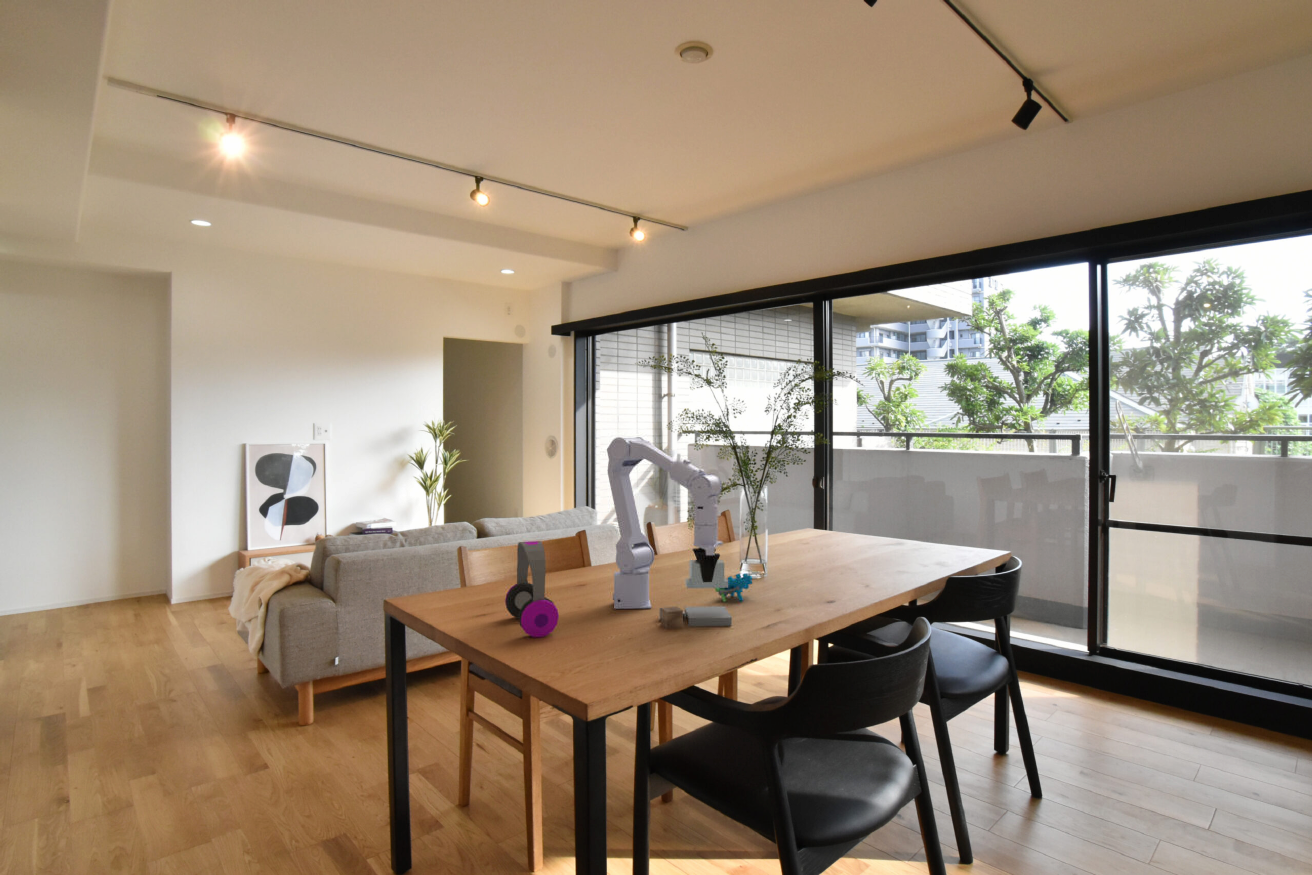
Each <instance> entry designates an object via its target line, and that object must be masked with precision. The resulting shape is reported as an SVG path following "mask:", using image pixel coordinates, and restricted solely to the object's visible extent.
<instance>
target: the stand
mask: <svg viewBox="0 0 1312 875" xmlns="http://www.w3.org/2000/svg"><path fill="white" fill-rule="evenodd" d="M684 612H685V618H687V620H688V621H687V624H688V627H727V626H729V627H732V621H733V620H732V618H733V617H732V616H731V615H730V612H729V611H728V610H727V608H726V606H725V605H724V606H685V607H684Z"/></svg>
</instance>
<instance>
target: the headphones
mask: <svg viewBox="0 0 1312 875" xmlns="http://www.w3.org/2000/svg"><path fill="white" fill-rule="evenodd" d="M516 554H517V563H516V583H515V584H513V585H512V586H511V587H510V588H509V589H508V591H507V593H506V595H505V599H504V602H505V606H506V607H505V608H506V610H507V611H508V612H509V614H510V615H511V616H512V617H514V618H516V619H518V621H519V622H518V623H519V626H520V628H521V629H522V630H523V632H524V633H526V634H527V635H529V636H530V637H532V638H543V637H547V636H548V635H550V634H551V633H552V632H553V631H554V630H555V628H556V627H557V626H558V624H559V623H558V622H559V618H560V615H559V610H558V608H557V606H556V604H555V603H554V602H553V601H552V600H551V599H550V598H548V597H546V594H545V592H546V569H547V568H546V552H545V547H544V545H543V542H542V541H541V540H533V541H532V540H531V541H518V543H517V549H516ZM529 568H530V571H531V579H532V580H531V581H532V583H530V582H529V581H528V574H529Z"/></svg>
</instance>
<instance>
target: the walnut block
mask: <svg viewBox="0 0 1312 875" xmlns="http://www.w3.org/2000/svg"><path fill="white" fill-rule="evenodd" d="M660 608H661V620H660V624H661V626H662V627H664V628H665V629H667V630H668V629H669V630H670V629H679V628H681V627H682V628H683V627H684V620H683V612H684V610H683V609H681V608H680V607H678V606H677V605H676V606H666V607H665V606H664V607H660Z"/></svg>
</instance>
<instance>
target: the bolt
mask: <svg viewBox="0 0 1312 875" xmlns="http://www.w3.org/2000/svg"><path fill="white" fill-rule="evenodd" d="M661 608H662V607H659V617H658V618H659V621H661ZM685 620H686V617H685V611H683V621H685Z"/></svg>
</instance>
